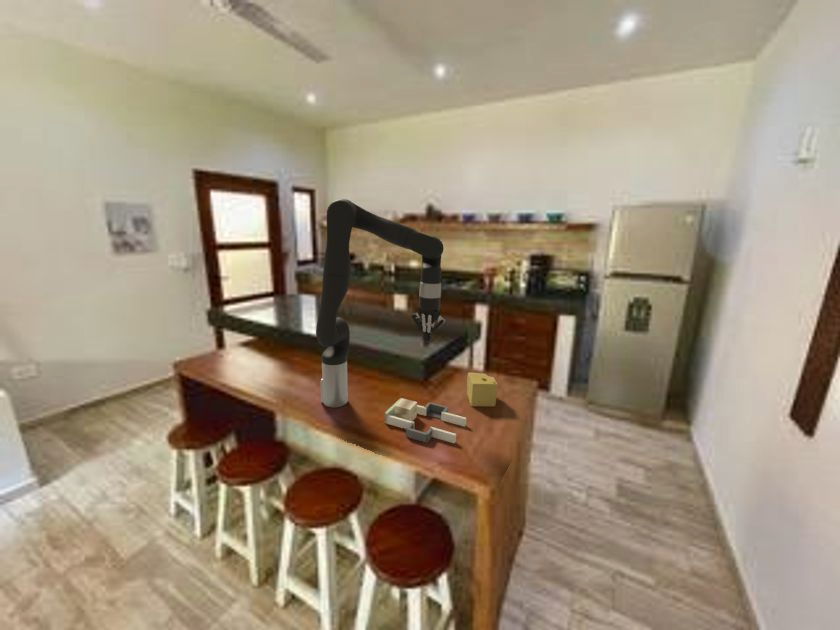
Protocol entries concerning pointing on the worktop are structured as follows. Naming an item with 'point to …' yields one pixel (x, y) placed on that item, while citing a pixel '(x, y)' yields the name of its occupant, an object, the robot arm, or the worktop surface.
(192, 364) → the worktop surface
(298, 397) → the worktop surface
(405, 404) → the birch block
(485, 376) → the cheese
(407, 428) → the trap box
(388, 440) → the worktop surface
